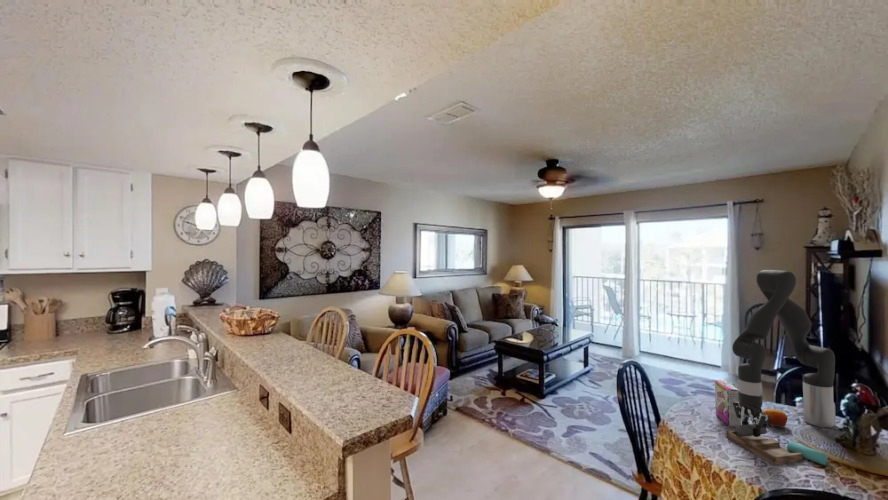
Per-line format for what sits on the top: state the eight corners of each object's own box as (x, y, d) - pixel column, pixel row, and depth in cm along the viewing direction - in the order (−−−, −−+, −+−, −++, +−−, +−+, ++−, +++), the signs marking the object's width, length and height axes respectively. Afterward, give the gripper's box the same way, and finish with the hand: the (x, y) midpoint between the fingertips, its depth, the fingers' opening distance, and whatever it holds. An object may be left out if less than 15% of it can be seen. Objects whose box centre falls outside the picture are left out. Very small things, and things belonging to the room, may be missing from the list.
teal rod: (792, 447, 142) (788, 454, 140) (790, 438, 141) (786, 445, 139) (828, 460, 133) (824, 468, 131) (826, 451, 132) (822, 459, 130)
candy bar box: (715, 415, 171) (714, 379, 170) (727, 415, 170) (726, 380, 169) (728, 427, 160) (727, 389, 159) (741, 427, 159) (740, 389, 158)
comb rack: (752, 434, 153) (752, 428, 153) (802, 460, 134) (802, 453, 134) (726, 437, 152) (726, 431, 152) (773, 464, 133) (773, 457, 133)
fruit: (769, 426, 156) (765, 406, 160) (762, 428, 162) (758, 409, 166) (794, 429, 153) (788, 409, 156) (786, 431, 159) (781, 411, 163)
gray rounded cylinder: (757, 431, 151) (756, 421, 151) (767, 435, 147) (766, 425, 147) (735, 433, 149) (734, 423, 149) (744, 438, 145) (744, 428, 145)
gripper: (725, 385, 154) (726, 426, 155) (758, 399, 140) (760, 444, 141) (741, 383, 155) (742, 424, 156) (776, 397, 141) (777, 442, 141)
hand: (751, 433), depth 148 cm, fingers closed on gray rounded cylinder, 4 cm apart
